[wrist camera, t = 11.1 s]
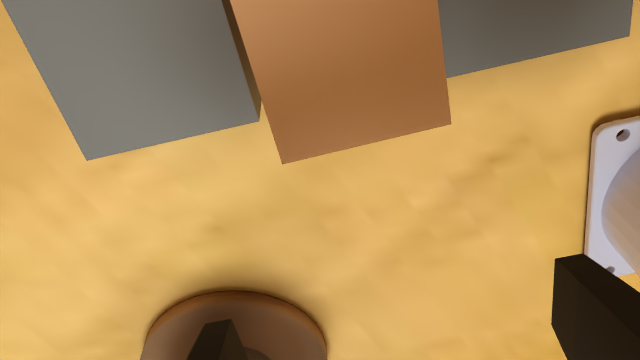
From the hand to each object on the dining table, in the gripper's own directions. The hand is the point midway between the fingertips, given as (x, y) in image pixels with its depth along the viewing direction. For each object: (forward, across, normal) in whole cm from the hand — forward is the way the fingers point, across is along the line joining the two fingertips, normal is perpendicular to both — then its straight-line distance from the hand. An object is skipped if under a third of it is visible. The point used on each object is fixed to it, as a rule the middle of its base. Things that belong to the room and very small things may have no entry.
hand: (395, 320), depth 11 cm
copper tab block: (+9, 0, -5) cm, 11 cm away
